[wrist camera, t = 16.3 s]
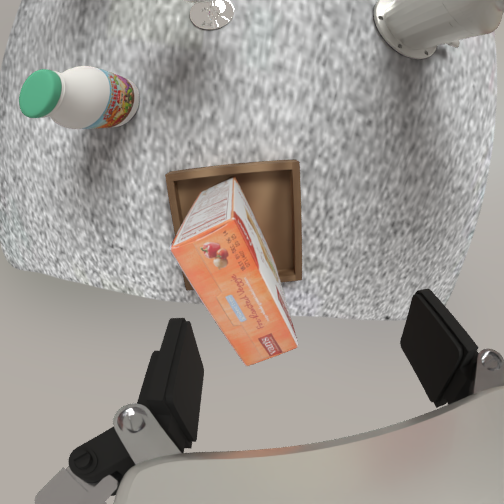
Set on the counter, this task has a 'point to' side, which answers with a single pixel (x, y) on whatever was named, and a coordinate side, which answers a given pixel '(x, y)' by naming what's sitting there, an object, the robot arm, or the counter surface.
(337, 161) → the counter surface
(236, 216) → the cracker box
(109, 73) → the milk bottle
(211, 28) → the wineglass
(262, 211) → the walnut tray
